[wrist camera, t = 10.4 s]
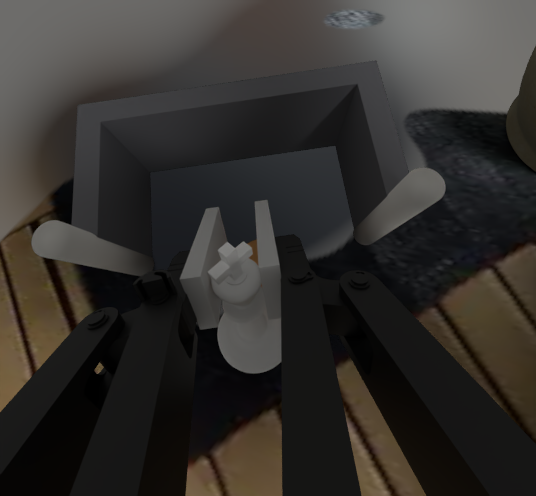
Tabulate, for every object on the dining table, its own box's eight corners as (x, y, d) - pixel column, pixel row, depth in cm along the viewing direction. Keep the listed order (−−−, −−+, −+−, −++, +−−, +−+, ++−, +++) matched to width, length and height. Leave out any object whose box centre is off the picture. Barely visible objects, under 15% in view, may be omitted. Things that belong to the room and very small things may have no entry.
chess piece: (307, 329, 16) (333, 243, 8) (255, 392, 14) (218, 367, 6) (254, 284, 18) (231, 177, 10) (203, 334, 16) (121, 255, 8)
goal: (379, 243, 19) (450, 200, 11) (131, 278, 19) (29, 259, 11) (351, 127, 21) (393, 24, 13) (131, 159, 21) (46, 76, 14)
